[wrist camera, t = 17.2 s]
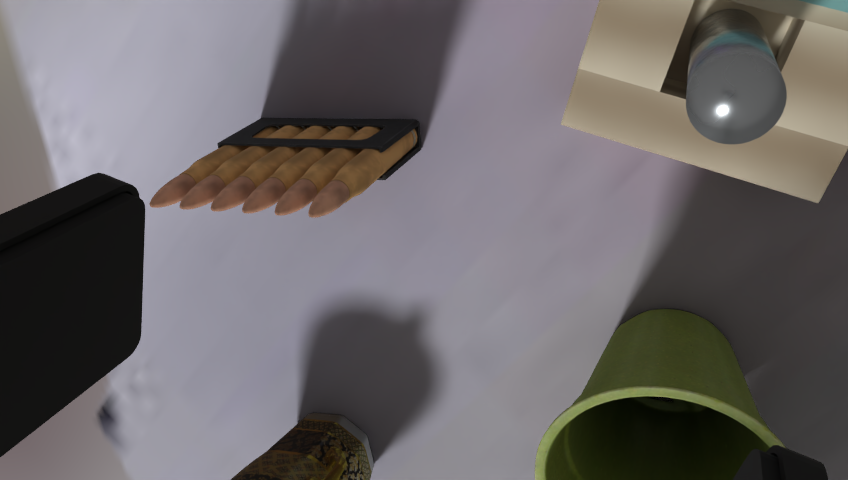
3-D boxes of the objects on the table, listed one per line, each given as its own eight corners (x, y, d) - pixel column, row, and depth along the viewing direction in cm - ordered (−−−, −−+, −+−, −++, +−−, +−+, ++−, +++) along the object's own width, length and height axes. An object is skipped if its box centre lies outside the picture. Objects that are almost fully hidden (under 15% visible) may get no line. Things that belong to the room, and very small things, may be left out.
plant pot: (803, 425, 41) (835, 588, 31) (604, 445, 46) (579, 589, 37) (752, 247, 38) (770, 371, 28) (543, 291, 43) (499, 407, 33)
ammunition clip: (419, 119, 41) (326, 197, 31) (422, 150, 42) (332, 235, 31) (260, 117, 44) (130, 186, 34) (265, 146, 45) (140, 221, 35)
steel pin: (747, 86, 33) (762, 155, 25) (679, 67, 34) (671, 129, 26) (776, 18, 32) (804, 68, 23) (705, 0, 32) (706, 42, 24)
